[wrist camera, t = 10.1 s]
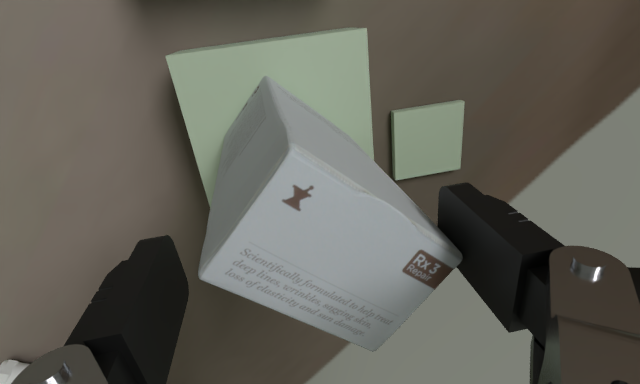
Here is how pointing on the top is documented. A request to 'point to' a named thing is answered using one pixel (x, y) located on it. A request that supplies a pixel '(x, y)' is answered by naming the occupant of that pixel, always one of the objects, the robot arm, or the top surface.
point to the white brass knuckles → (10, 370)
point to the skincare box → (317, 225)
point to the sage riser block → (284, 68)
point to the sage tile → (427, 139)
